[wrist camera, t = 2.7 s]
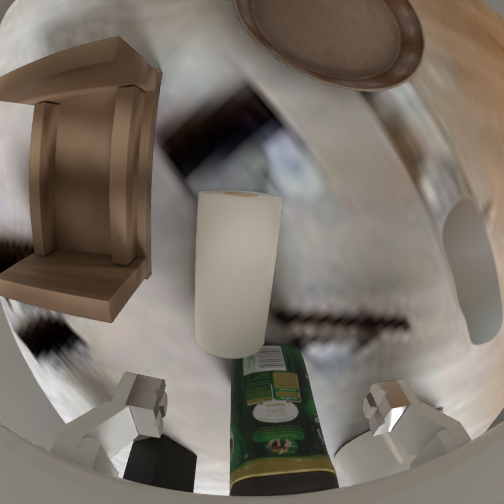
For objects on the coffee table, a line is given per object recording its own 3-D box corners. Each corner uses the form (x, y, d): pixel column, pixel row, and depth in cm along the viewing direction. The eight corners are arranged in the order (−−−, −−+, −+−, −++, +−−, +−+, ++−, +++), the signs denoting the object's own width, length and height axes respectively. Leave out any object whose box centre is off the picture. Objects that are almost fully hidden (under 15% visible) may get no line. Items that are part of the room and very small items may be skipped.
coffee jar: (297, 398, 30) (324, 533, 12) (232, 400, 29) (230, 541, 12) (308, 338, 27) (363, 506, 9) (230, 339, 26) (224, 522, 9)
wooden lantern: (54, 90, 17) (-6, 75, 9) (162, 72, 18) (121, 30, 10) (52, 262, 23) (0, 299, 15) (151, 273, 24) (112, 328, 15)
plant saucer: (378, -31, 14) (388, -43, 11) (429, 99, 19) (447, 96, 16) (219, -35, 14) (217, -52, 11) (255, 108, 20) (257, 100, 17)
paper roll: (226, 187, 23) (180, 191, 18) (294, 197, 21) (262, 203, 15) (218, 312, 27) (181, 340, 21) (274, 331, 24) (244, 368, 19)
